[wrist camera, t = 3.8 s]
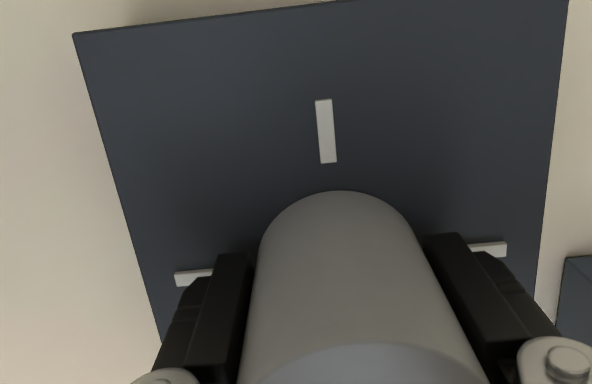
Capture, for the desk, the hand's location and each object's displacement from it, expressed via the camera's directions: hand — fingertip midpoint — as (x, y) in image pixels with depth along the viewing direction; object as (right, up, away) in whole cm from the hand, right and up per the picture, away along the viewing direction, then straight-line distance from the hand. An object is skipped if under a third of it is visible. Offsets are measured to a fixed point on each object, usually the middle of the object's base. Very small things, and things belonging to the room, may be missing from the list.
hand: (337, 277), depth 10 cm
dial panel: (0, +1, +3) cm, 4 cm away
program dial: (0, 0, +1) cm, 1 cm away
